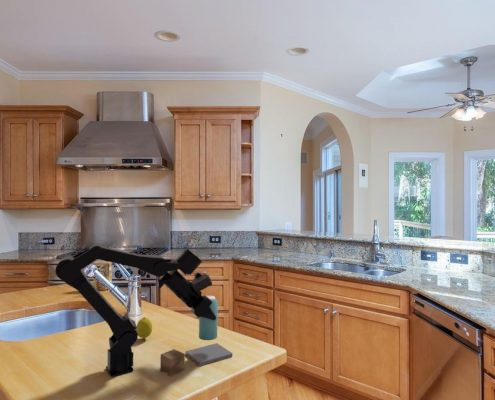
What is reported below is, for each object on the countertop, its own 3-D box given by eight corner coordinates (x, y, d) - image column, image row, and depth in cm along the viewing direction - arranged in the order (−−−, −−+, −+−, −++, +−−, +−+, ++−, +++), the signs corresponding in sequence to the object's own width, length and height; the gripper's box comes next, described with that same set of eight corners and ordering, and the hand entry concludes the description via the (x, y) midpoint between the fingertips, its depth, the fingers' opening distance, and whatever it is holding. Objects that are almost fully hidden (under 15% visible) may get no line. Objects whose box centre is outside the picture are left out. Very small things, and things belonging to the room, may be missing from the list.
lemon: (153, 336, 133) (153, 314, 133) (149, 342, 128) (150, 319, 128) (138, 336, 133) (138, 314, 133) (134, 342, 127) (134, 319, 127)
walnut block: (170, 376, 103) (171, 359, 103) (160, 371, 106) (160, 354, 106) (184, 370, 107) (184, 353, 107) (173, 365, 110) (174, 349, 110)
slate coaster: (199, 365, 110) (199, 362, 110) (185, 354, 118) (185, 351, 118) (232, 356, 117) (232, 353, 117) (217, 345, 125) (217, 343, 125)
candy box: (111, 288, 204) (111, 261, 204) (109, 290, 200) (109, 262, 200) (95, 288, 203) (96, 261, 203) (93, 290, 199) (93, 262, 199)
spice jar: (199, 340, 114) (200, 300, 114) (198, 334, 120) (198, 295, 120) (218, 339, 115) (218, 299, 116) (215, 332, 121) (216, 294, 121)
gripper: (206, 272, 108) (239, 304, 112) (189, 262, 125) (219, 290, 129) (179, 301, 104) (215, 333, 109) (166, 286, 121) (197, 315, 126)
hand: (212, 316), depth 118 cm, fingers closed on spice jar, 6 cm apart
